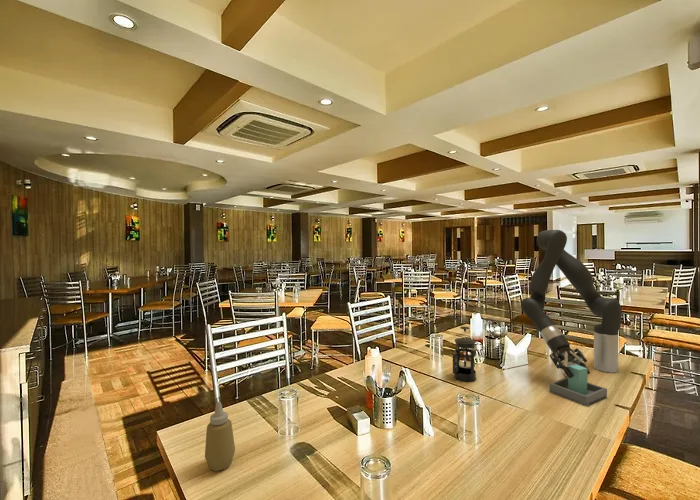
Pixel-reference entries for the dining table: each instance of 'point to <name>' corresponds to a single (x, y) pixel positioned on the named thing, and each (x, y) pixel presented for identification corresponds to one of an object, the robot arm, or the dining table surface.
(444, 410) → the dining table surface
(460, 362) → the french press
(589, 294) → the robot arm
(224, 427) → the squeeze bottle
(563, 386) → the tray
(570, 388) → the green tall block
